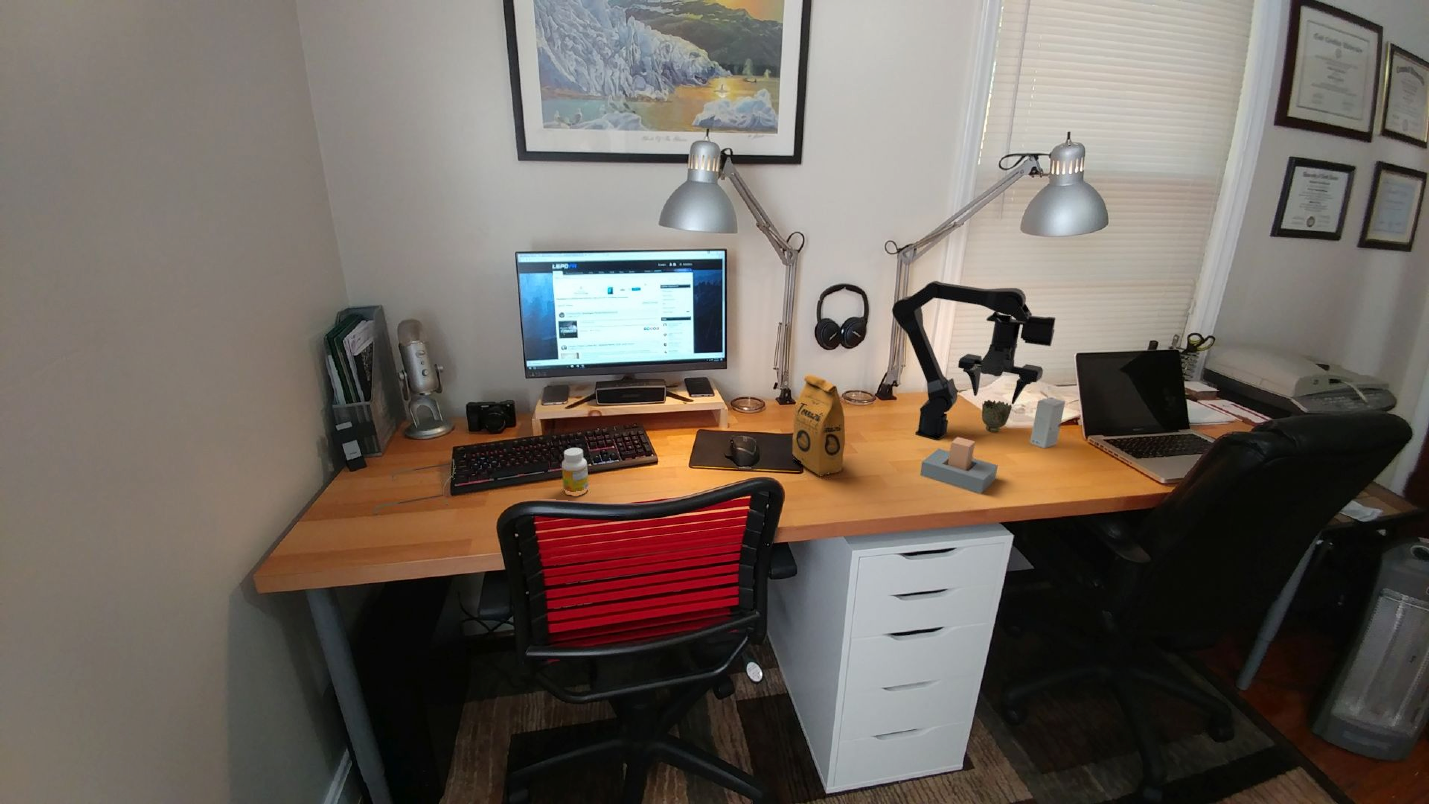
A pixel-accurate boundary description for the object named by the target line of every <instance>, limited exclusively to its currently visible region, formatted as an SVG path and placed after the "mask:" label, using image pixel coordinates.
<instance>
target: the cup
mask: <svg viewBox="0 0 1429 804" xmlns="http://www.w3.org/2000/svg"><path fill="white" fill-rule="evenodd" d="M981 407H982V409H981V410H982V411H981V416H982V417H981V419H982V422H983V424H985V429H986V431H988V432H989V433H999V432H1000V430H1001V428H1002V427H1004V426H1005V425H1007V424H1006V423H1007V422H1008V420H1009V417H1010V414H1011V411H1012V409H1013V407H1012V404H1009V403H1008V402H1006V403H1005V402H1004V401H1001V400H998V401H997V402H996V399H995V400H993V401H991V400H990V399H987V400H984V401H983V402H982V406H981Z"/></svg>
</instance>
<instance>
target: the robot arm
mask: <svg viewBox="0 0 1429 804" xmlns="http://www.w3.org/2000/svg"><path fill="white" fill-rule="evenodd" d="M933 299H940V300H944V301H952V302H959V303H964V304H971V305H976V306H977V305H978V306H982V307H983V308H987V309H989V310H991V311H993V313H992V314H990V315H988V316H987V318H986V322H991V323H993V322H994V325H993V332H992V335H991V337H992V338H991V342H990V344H989V347H988V351H987V352H986V353H985V355H984V357H983V358H982V355H977V354H972V353H967V354H965V355H964V356H961V357H960V358H959V360H958V363H957V364H958V365H957V368H959V369H961V370H962V371H963V373H966V374H967V375H968V377H969V380H970V383H971V387H972V392H973V396H974V397H976V396H977V395H978V392H979V389H980V388H979V386H980V380H981V374H982V375H991V376H993V377H1001V376H1003V373H1009V374H1013V375H1018V377H1019V378H1018V379H1017V380H1016V383H1015V389H1014V391H1013V395H1012V399H1011V405H1014V404H1015V403H1016V401H1017V399H1018V398H1019V397H1020V395H1021V394H1022V392H1023V390H1024V389H1025V388H1026V386H1027V385H1030V384H1032V383H1037V382H1038V381H1039V380H1041V379H1042V378H1043V373H1044V369H1043V367H1042V366H1038V365H1034V364H1033V365H1032V364H1027V363H1026V364H1024V365H1023V366H1015V355H1016V350H1017V347H1018V338H1019V334H1020V339H1022V341H1024V343H1025V344H1028V345H1029V344H1030V345H1038V346H1045V347H1051V346H1052V343H1053V339H1054V334H1055V321H1056V317H1054V316H1047V317H1046V316H1037V315H1033V313H1032V312H1031V311H1030V309H1029V307H1028V305H1027V304H1026V302H1027V297H1026V294H1025V293H1024V291H1023V290H1022V289H1020V288H1016V287H1000V288H990V289H989V288H981V287H980V288H979V287H974V286H969V285H968V286H967V285H959V284H955V283H954V284H953V283H946V282H941V281H939V280H934V281H931V282H928V283H927V284H926V285H925V286H924V287H923V288H921V289H920V290H918V291H917V292H915V293H914V294H913V295H911V296H910V295H908V296H904V297H903V298H901V299H899V300H897V301H896V302H895V303H894V304H893V307H892V309H891V313H892V315H893V318H894V319H895V321H896V322H897V324H898V325H899V326H900V328H901V329H902V330H903V331H904V332H905V333H906V335H907V336H908V339H909V341H910V343H911V346H912V348H913V351H914V353H915V356H916V359H917V360H918V363H919V366H920V368H921V371H922V373H923V375H924V376H923V377H924V378H925V381H926V386H927V398H928V399H927V400H926V401H925V403H924V404H923V405H922V406H921V407H920V408H919V411H920V413H919V414H920V415H919V420H918V427H917V430H916V431H915V435H918V436H922V437H925V438H929V439H933V440H937V441H938V440H940V439H941V438H943V436H945V435H947V430H948V425H949V419H948V418H947V417H948V413H947V412H949V411H950V410H952V407H953V406H954V405H955V404H956V402H957V401H958V393H959V390H958V388H957V387H956V385H955V380H954V378H950V379H947V377H946V376H945V375H944V374H943V371H942V370H941V367H940V364H939V362H938V360H937V359H938V358H936V355H935V352H934V349H933V347H932V344H931V342H930V340H929V337H928V334H927V332H926V330H925V327H924V318H923V317H924V315H923V311H922V307H923V306H925V305H927V304H928V303H929V302H930V301H932V300H933ZM1021 326H1022V327H1021ZM1020 328H1021V331H1020Z"/></svg>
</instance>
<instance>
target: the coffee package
mask: <svg viewBox="0 0 1429 804" xmlns="http://www.w3.org/2000/svg"><path fill="white" fill-rule="evenodd" d="M803 379H804V382H805V384H804V387H803V388H802V390H801V392H800V395H799V396H798V398H797V400H796V403H795V404H794V417H793V418H794V419H793V432H792V433H793V434H792V453H791V454H793V455H794V456H795V457H796V458H797V459H798V460H800V461H801V463H800V464H801V465H803V466H804V467H805V468H806V469H808V470H810V471H811V472H813V473H814V472H815V473H814V474H816V475H817V476H819V475H822V476H825V475H824V474H828V473H831V474H838V473H840V472H842V471H843V461H844V452H845V451H844V450H845V446H846V438H845V437H846V433H845V432H846V429H845V423H846V422H845V414H844V410H843V409H844V408H843V405H842V403H841V398H840V395H839V391H838V388H837V386H836V385H835V384H832V383H831V382H829V381H828V380H826V379H824V378H821V377H818V376H816V375H813V374H811V373H807V374H806V375H805V376H804V378H803ZM841 470H842V471H841ZM839 471H840V472H839ZM837 472H838V473H837Z"/></svg>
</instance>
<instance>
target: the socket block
mask: <svg viewBox="0 0 1429 804" xmlns="http://www.w3.org/2000/svg"><path fill="white" fill-rule="evenodd" d="M949 455H950V450H946V449H942V448H937V449H936V450H934V452H932V453H931V454H930V455H929V456H927V457H926V458H924V459H923V460H922V462H921V466H920V474H919V475H920V476H921V477H922V476H923V477H925V478H928V479H932V480H935V481H938V482H941V481H942V483H945V484H949V485H951V484H952V485H951V486H954V487H958V488H960V487H961V488H960V489H964V490H966V489H968V490H967V491H970V492H974V493H976V492H977V494H979V495H982V494H983V493H984V492H985V491H986V490H987V488H988V487H989V486H991V484H992V483H993V482H994V481H995V480H996V477H997V472H998V468H999V465H998V464H996V463H995V464H994V463H991V462H989V461H988V462H987V461H984V460H982V459H977V458H975V457H972V462H971V468H970V470H969V471H965V470H961V469H958V468H955V467H951V466H948V461H949ZM982 492H983V493H982Z"/></svg>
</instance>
